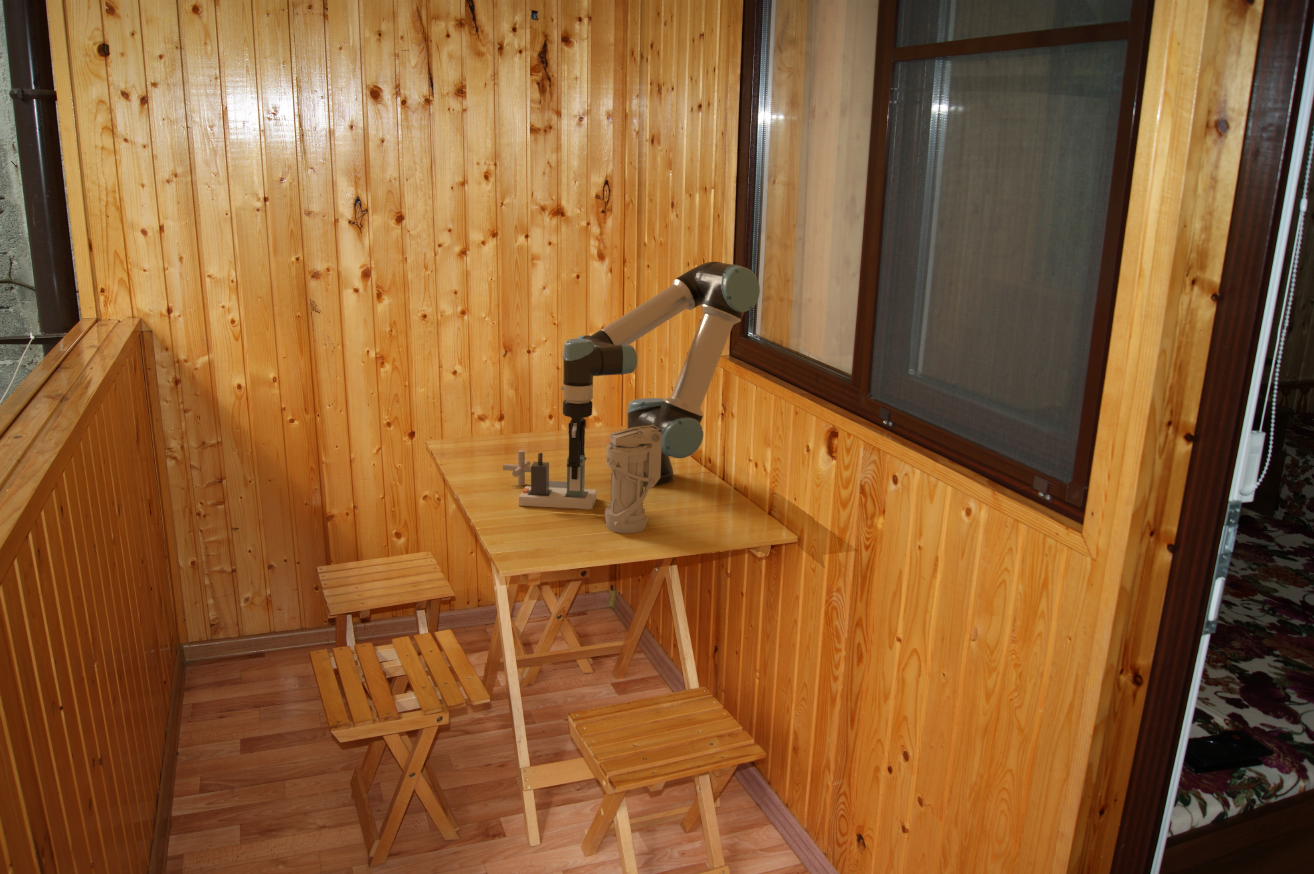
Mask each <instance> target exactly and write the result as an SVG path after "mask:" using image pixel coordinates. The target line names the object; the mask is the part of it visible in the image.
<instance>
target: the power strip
mask: <svg viewBox="0 0 1314 874" xmlns="http://www.w3.org/2000/svg"><path fill="white" fill-rule="evenodd" d="M524 486H525V485H524ZM597 493H598V492H597V489H585V488H584V493H583V495H582V496H568V495H567V488H551V487H549V496H537V495H531V485H530V486H529V485H527V486H525V487H523V490H522V491H521V493H520V494H519V495H518V507H528V508H529V507H531V508H547V509H565V510H566V509H568V510H585V511H586V510H587V511H592V510H593V508H594V506H595V503H596V500H597Z"/></svg>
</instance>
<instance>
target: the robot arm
mask: <svg viewBox="0 0 1314 874" xmlns="http://www.w3.org/2000/svg"><path fill="white" fill-rule="evenodd" d="M760 293H761V288H760V282H759V281H758V277H757V276H756V274H755V273H754V272H753V271H752V270H751V269H749V267H748V268H747V267H745V266H742V265H739V264H733V263H732V264H731V263H724V262H720V261H708V262H704V263H702V264H700V265H697V266H696V267H693V268H691V269H690V270H688V271H686V272H684V273H683V274H681V275H680V276H678V277H675V279H673V280H672V281H671V285H670V286H669V287H667V288H665V289H664V290H662V291H660V292H659V293H657V294H656V295H654V296H652V297H651V298H650V299H647V300H646V301H644V302H643V303H642V304H640V305H638V306H637V307H635V308H634V309H632V310H630V311H629V312H627V313H625V314H623V315H622V316H620V317H619V318H617V319H616V320H614V321H613V322H611V323H610V324H608V325H606V326H604V327H603V328H601V329H600V330H598V331H596V332H595V333H593V334H591V335H587V334H586V335H580V336H578V337H576V338H569V339H567V340H566V341H565V342H564V347H563V355H562V359H563V386H561V387H560V390H561V391H562V392H563V393H562V394H563V395H562V397H563V399H564V400H563V401H562V414H563V416H565V417H566V418H567V417H569V418H571V420H570V421H569V423H568V431H567V433H568V456H569V463H568V464H567V463H566V468H567V467H570V481H569V491H580V472H581V466H580V455H585V461H587V456H586V454H585V444H586V443H585V440H586V437H585V436H586V426H587V422H586V421H587V420H586V418H589V417H591V416H592V414H593V401H592V400H593V398H594V377H600V376H613V375H614V376H617V375H620V376H623V375H627V374H632V373H633V372H635V370H636V369H637V367H638V354H637V351H636V349H635V348H634V346H632V345H631V344H633V343H634V342H635V341H637V340H639V339H640V338H643V337H644V336H645V335H647V334H649V333H650V332H652V331H654V330H655V329H656V328H658V327H659V326H662V325H663V324H664V323H666V322H667V321H669V320H670V319H673V318H675V317H676V316H677V315H679V314H681V313H682V312H683V311H685V310H688V311H692V310H693V309H696V308H697V307H699V306H700V308H701V310H702V312H703V313H702V316H701V319H700V322H699V323H698V326H697V328H696V329H697V330H696V331H695V334H694V337H693V340H692V342H691V344H690V347H689V350H688V352H687V355H686V357H685V360H684V362H683V366H682V368H681V369H680V373H679V375H678V377H677V381H676V382H675V384H674V388H673V391H672V393H671V395H670V396H669V397H667V398H662V397H661V398H660V397H649V398H646V397H645V398H638V399H636V398H635V399H633V400H631V401H630V402H628V407H627V413H626V414H627V426H626V427H627V428H626V429H628V428H632V427H638V426H648V425H655V426H656V427H658V428H659V429H660V430H657V431H659V432H660V433H661V434H662V445H661V474H660V479H659V480H658V481H657V483H656V484H655V485H654V486H661V485H665V484H668V483H671V482H672V481H673V479H674V469H673V466H672V462H671V458H674V459H684V458H687V457H689V456H692V455H693V454H695V453H696V452H697V450H699V449H700V447H701V445H702V443H703V439H704V431H703V426H702V424H701V423H702V419H703V417H704V414H703V411H702V405H703V402H704V399H705V397H706V395H707V392H708V390H709V388H710V384H711V382H712V380H713V377H714V374H715V373H716V369H717V367H718V364H719V362H720V359H721V357H722V355H723V352H724V350H725V347H726V344H727V342H728V339H729V336H730V333H731V332H732V329H733V326H734V325H736V324H738V323H740V322H741V321H742V319H743V316H744V314H745V312H748V311H750V310H751V309H753V308H754V307H755V306H756V304H757V303H758V301H759V298H760ZM655 426H651V427H653V428H655V429H658V428H656V427H655Z"/></svg>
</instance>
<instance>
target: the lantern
mask: <svg viewBox="0 0 1314 874" xmlns="http://www.w3.org/2000/svg"><path fill="white" fill-rule="evenodd" d="M651 426H655V425H648V426H638V427H632V428H628V429H627V428H625V429H621V430H617V431H614V432H610V433H609V443H608V444H607V445H606V462H605V463H606V466H607V468H609V469H610V472H611V473H610V502H609V504H608V505H607V507H606V508H605V510H604V516H605V517H604V518H605V519H604V520H605V525H606V528H607V529H608V530H609V531H611V532H614V533H618V534H635V533H640V532H643V531H644V530H645V529H646V526H647V523H648V516H647V515H646V509H645V508H644V507H643V506H644V500H645V498H646V497H647V495H648V491H649V490H651V489H653V488H654V486H656V485H655V484H656V483H657V481H658V480H659V479H660V474H661V445H662V434H661V433H660V432H659V431H657V430H660V429H659V428H658V427H656V426H655V427H656V428H658V429H655V428H653V427H651Z"/></svg>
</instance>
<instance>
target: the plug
mask: <svg viewBox="0 0 1314 874" xmlns="http://www.w3.org/2000/svg"><path fill="white" fill-rule="evenodd" d="M585 457H586V454H585V455H580V466H581V472H580V491H569V481H570V467H567V466H566V468H567V469H566V482H567V495H568V496H582V495H583V493H584V489H585V481H586V480H585V477H586V476H585V473H586V472H585V471H586V470H585V469H586V466H585V465H586V460H585ZM568 463H569V455H568V456H567V461H566V465H567V464H568Z"/></svg>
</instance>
